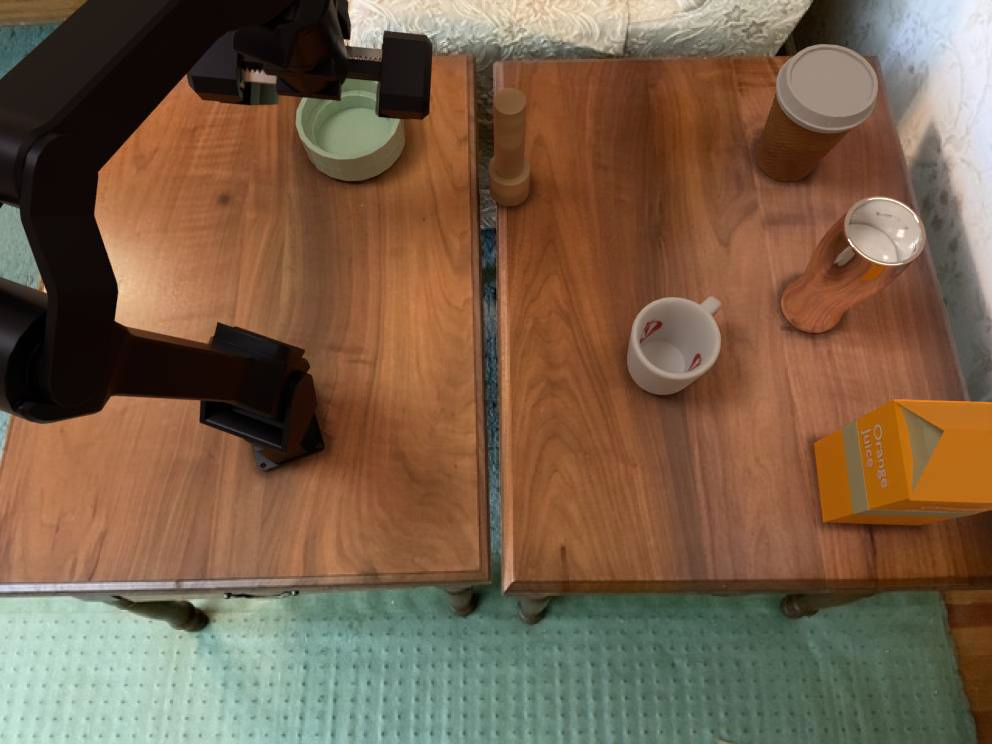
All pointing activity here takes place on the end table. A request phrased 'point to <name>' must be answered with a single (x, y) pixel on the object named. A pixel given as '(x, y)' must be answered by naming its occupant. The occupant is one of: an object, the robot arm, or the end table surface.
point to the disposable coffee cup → (814, 109)
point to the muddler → (509, 149)
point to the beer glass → (854, 262)
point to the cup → (673, 343)
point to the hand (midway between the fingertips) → (328, 103)
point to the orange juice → (908, 464)
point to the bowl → (349, 133)
